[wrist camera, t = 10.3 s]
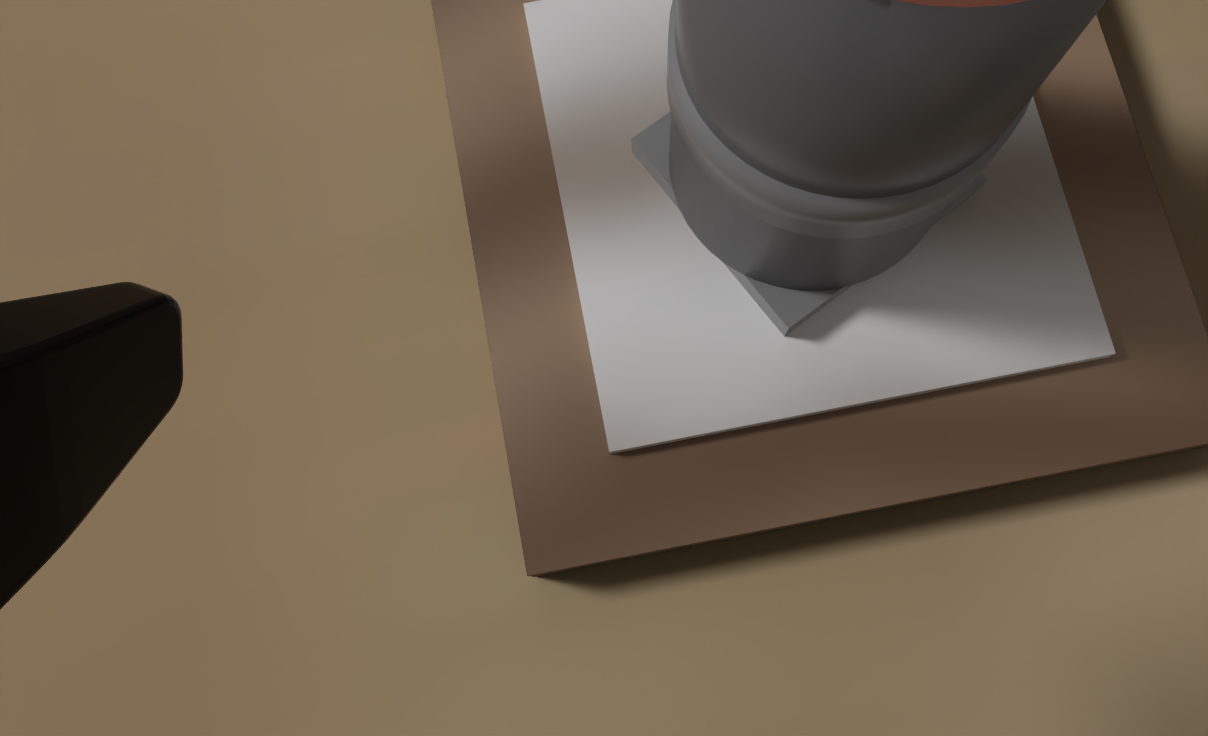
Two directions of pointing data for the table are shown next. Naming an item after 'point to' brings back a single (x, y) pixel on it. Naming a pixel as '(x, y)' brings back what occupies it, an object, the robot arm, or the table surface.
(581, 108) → the mount board
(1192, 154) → the table surface
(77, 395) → the robot arm
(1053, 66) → the grey tall rounded piece
